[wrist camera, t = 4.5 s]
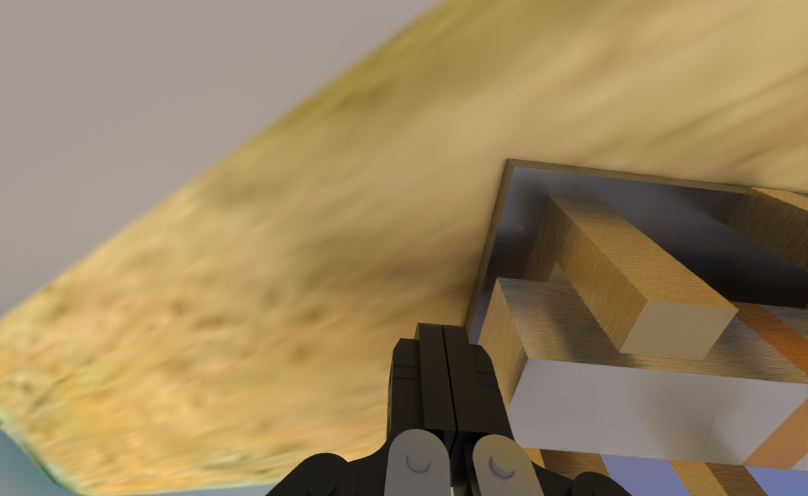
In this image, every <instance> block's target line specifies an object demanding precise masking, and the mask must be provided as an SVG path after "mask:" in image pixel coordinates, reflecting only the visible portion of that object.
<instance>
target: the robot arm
mask: <svg viewBox="0 0 808 496" xmlns="http://www.w3.org/2000/svg"><path fill="white" fill-rule="evenodd" d="M451 487H453V492H454V496H632V495H630V494H629V493H628V492H627V491H626V490H625V489H624V488H622V487H621V486H620V485H619V484H618V483H616V482H615V481H614V480H612V479H611V478H609V477H607V476H605V475H603V474H600V473H597V472H583V473H581V474H579V475H578V476H576V478H575V479H574V480H572V479H570V478H567V477H565V476H562V475H560V474H557V473H555V472H552V471H550V470H547V469H545V468H543V467H541V466H539V465H537V464H536V463H534V462H533V461H532V460H530V458H529V456H528V455H527V453H526V452H525V451H524V450H523V448H522V447H521V446H520V445H518V444H517V443H516V441H515V439H514V436H513V434H512V430H511V426H510V423H509V419H508V416H507V412H506V409H505V405H504V402H503V398H502V395H501V391H500V388H499V384H498V381H497V377H496V376H495V370H494V367H493V363H492V360H491V357H490V356H489V355H488V353H487V352H486V351H485V350H484V348H483V347H482V346H481V345H477V344H469V340H468V335H467V331H466V328H465V327H463V326H452V325H439V324H428V323H417V326H416V332H415V338H414V339H405V338H400V340H399V341H398V343H397V345H396V346H395V348H394V350H393V355H392V363H391V370H390V377H389V386H388V409H387V432H386V442H385V443H384V445H383V446H382V447H381V448H380V449H379V450H378V451H376V452H375V453H373V454H372V455H370V456H367V457H364V458H361V459H357V460H354V461H351V462H347V461H346V460H345V459H343V458H342V457H340V456H338V455H336V454H332V453H320V454H315V455H313V456H310V457H309V458H307V459H305V460H304V461H303V462H301V463H300V464H299V465H298V466H297V467H296V468H295V469H294V470H292V471H291V472H290V473H289V474H288V475H287V476H286V477H285V478H284V479H283V480H282V481H281V482H279V483H278V484H277V485H276V486H275V487H274V488H273V489H272V490H271V491H270V492H269V493H268V494H267V495H266V496H451Z"/></svg>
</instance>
